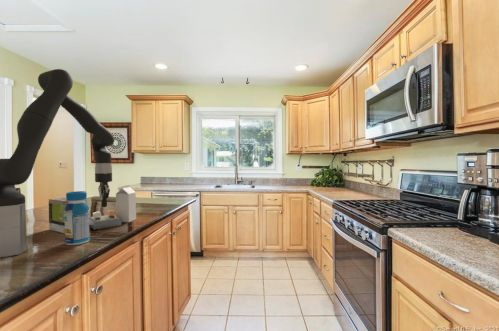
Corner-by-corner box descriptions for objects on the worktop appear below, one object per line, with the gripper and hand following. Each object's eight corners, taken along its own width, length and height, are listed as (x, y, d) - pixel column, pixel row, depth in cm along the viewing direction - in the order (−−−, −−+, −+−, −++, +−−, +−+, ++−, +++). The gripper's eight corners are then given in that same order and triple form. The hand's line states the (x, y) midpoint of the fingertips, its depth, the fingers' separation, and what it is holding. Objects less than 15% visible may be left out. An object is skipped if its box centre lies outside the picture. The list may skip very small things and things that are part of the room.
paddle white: (101, 216, 130) (100, 212, 130) (94, 217, 128) (94, 213, 128) (99, 215, 132) (99, 211, 132) (93, 216, 131) (92, 212, 130)
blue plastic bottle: (84, 244, 101) (83, 193, 101) (60, 246, 99) (59, 193, 99) (93, 238, 109) (92, 190, 109) (70, 239, 108) (69, 191, 107)
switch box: (121, 225, 131) (121, 216, 131) (94, 229, 123) (93, 220, 123) (113, 220, 142) (113, 212, 141) (87, 224, 134) (87, 216, 133)
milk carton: (136, 219, 144) (135, 184, 144) (129, 222, 137) (128, 186, 137) (124, 219, 145) (123, 184, 145) (116, 222, 138) (115, 186, 137)
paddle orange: (115, 215, 134) (115, 211, 134) (108, 215, 132) (109, 211, 132) (113, 214, 137) (113, 210, 137) (107, 214, 135) (107, 210, 135)
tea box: (87, 229, 125) (86, 198, 125) (63, 234, 116) (62, 201, 116) (71, 225, 133) (71, 196, 133) (48, 229, 124) (47, 198, 124)
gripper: (92, 172, 134) (92, 206, 135) (98, 173, 124) (98, 209, 125) (108, 171, 139) (108, 204, 139) (115, 172, 129) (116, 207, 130)
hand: (104, 206), depth 132 cm, fingers closed
